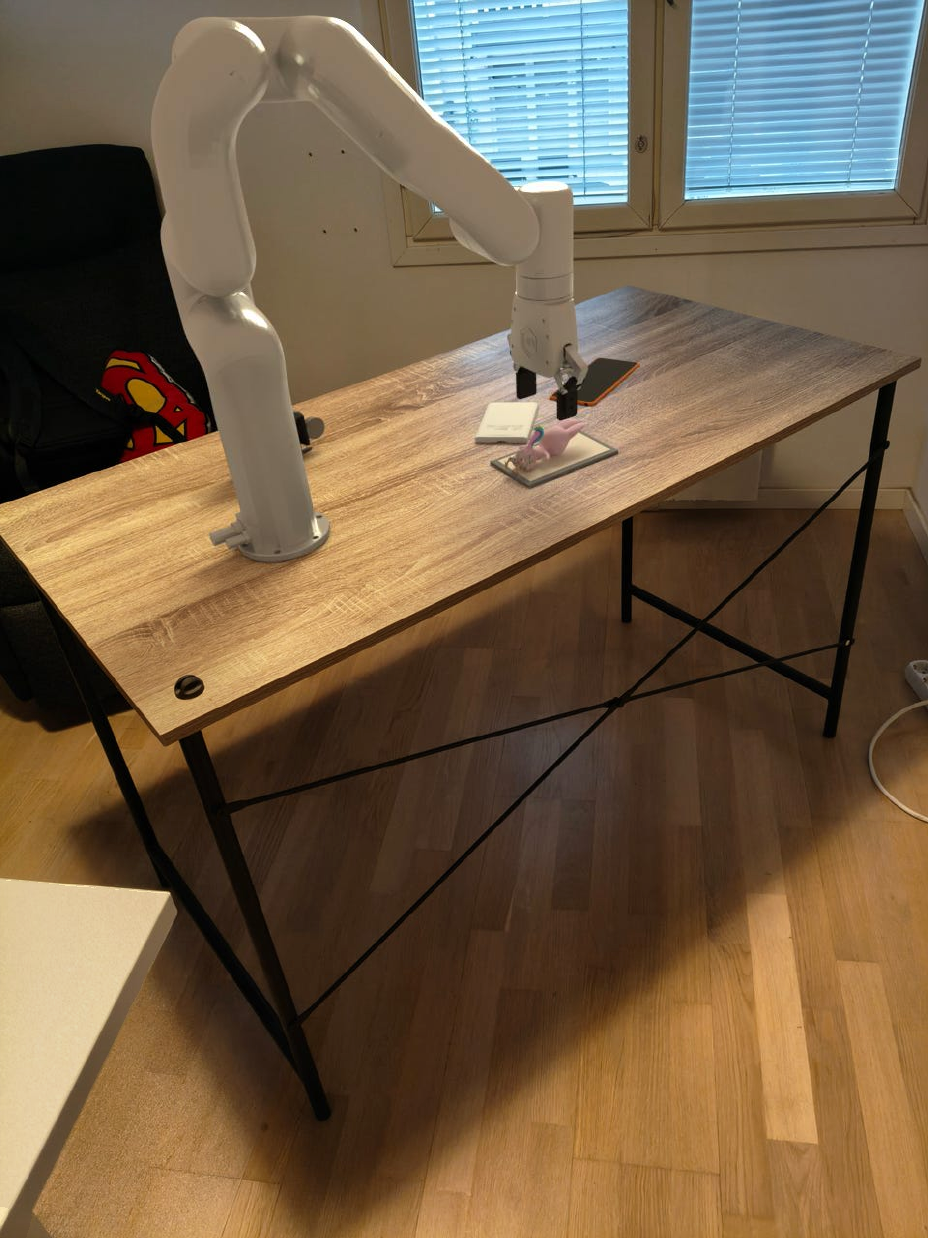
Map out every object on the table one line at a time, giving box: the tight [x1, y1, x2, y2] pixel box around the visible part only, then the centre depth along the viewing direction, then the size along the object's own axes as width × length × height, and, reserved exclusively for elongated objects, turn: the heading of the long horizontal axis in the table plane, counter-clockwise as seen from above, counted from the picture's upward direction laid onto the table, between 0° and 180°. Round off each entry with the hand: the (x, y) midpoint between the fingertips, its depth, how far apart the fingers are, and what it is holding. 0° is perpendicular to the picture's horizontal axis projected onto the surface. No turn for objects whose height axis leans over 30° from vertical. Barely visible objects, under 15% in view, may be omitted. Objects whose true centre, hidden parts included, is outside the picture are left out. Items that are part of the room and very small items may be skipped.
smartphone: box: [549, 357, 640, 407], centre depth 162 cm, size 8×18×1 cm, turn 147°
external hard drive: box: [474, 401, 539, 444], centre depth 152 cm, size 2×8×12 cm
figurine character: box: [292, 409, 325, 454], centre depth 148 cm, size 7×8×15 cm
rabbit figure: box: [504, 418, 589, 477], centre depth 139 cm, size 6×6×15 cm
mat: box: [489, 430, 619, 489], centre depth 141 cm, size 16×10×1 cm, turn 122°
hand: (546, 406), depth 136 cm, fingers open, 9 cm apart
